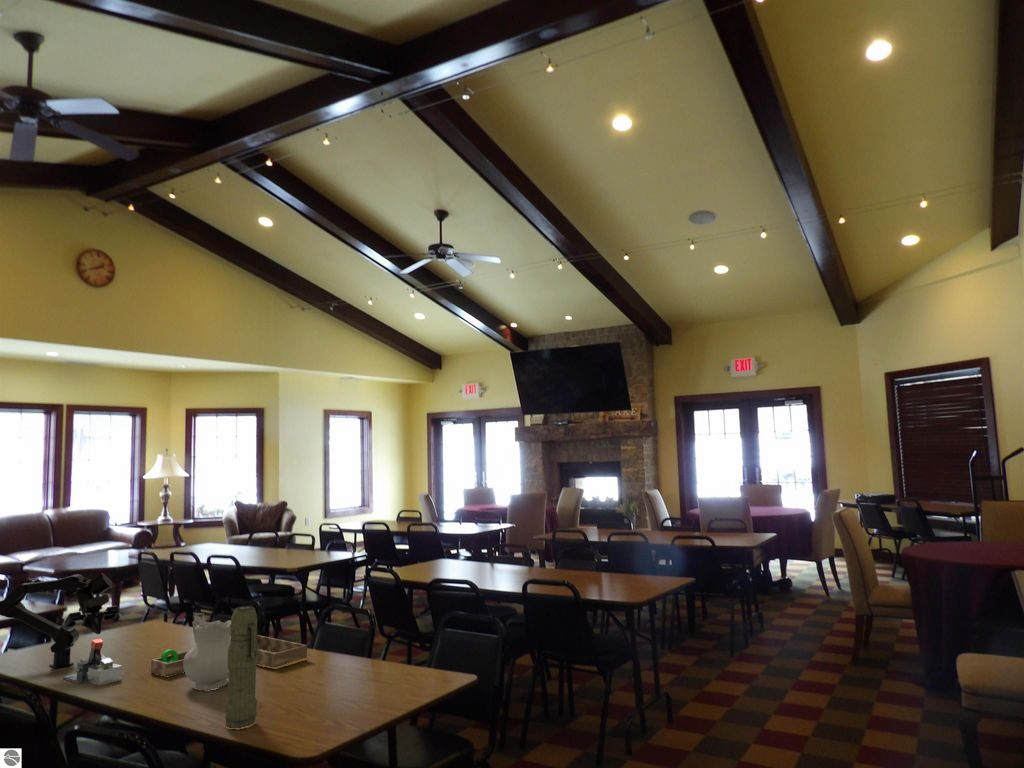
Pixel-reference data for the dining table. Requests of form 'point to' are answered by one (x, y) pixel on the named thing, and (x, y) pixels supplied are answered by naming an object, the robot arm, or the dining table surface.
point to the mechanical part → (168, 652)
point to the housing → (104, 674)
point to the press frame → (79, 673)
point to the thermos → (242, 668)
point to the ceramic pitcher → (208, 654)
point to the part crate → (168, 665)
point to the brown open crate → (279, 651)
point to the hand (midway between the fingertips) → (99, 633)
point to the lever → (97, 656)
